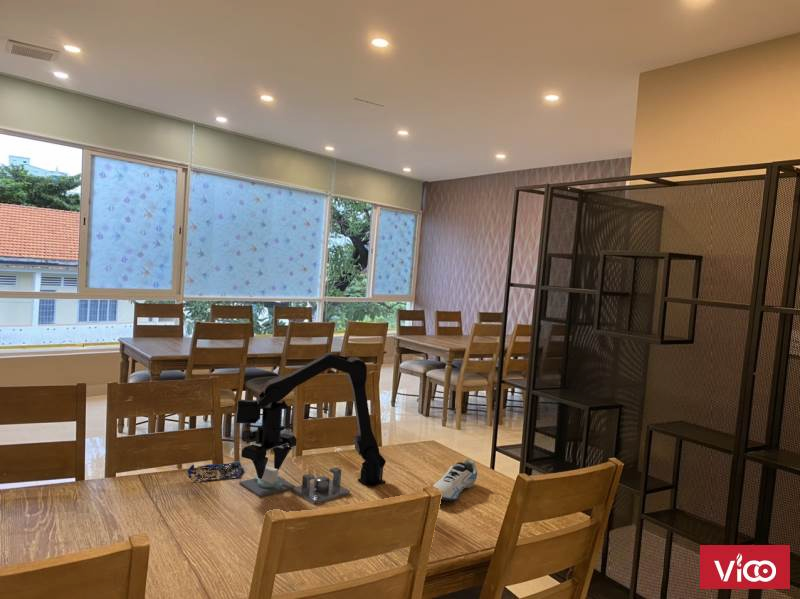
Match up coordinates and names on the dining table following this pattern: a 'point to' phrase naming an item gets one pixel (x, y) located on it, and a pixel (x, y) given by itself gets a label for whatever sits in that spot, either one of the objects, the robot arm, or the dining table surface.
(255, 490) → the mat
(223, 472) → the dark blue patterned slab
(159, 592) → the dining table surface
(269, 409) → the robot arm
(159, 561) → the dining table surface
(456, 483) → the running shoe
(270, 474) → the cap
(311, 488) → the grey plate with upright
